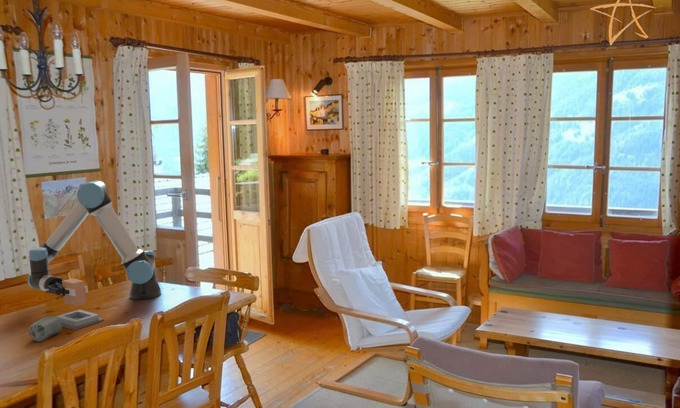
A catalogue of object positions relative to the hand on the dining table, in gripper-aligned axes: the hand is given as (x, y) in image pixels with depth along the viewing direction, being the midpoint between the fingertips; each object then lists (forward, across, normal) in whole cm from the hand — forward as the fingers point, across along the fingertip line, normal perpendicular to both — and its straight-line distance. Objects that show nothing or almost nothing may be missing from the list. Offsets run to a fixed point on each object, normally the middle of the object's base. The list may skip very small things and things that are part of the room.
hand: (80, 291), depth 255 cm
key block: (-5, 0, -6) cm, 8 cm away
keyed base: (-5, 0, -15) cm, 15 cm away
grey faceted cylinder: (+2, +18, -15) cm, 23 cm away
